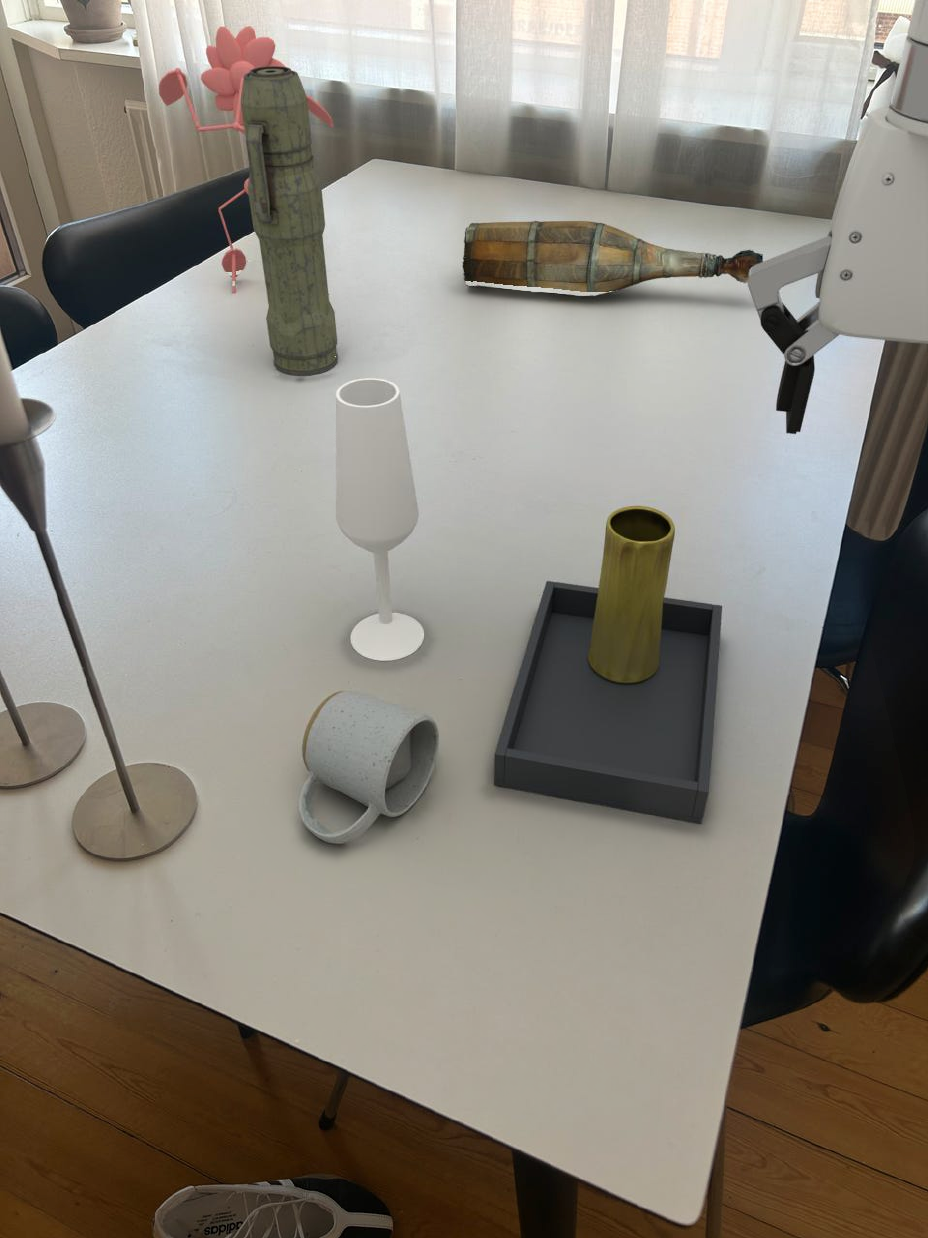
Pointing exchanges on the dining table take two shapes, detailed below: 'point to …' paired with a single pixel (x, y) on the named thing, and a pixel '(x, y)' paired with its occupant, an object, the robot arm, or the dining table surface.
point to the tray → (613, 713)
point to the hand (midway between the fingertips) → (881, 431)
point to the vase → (631, 594)
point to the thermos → (288, 221)
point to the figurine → (230, 96)
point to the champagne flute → (376, 502)
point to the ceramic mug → (366, 758)
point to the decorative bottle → (583, 257)
